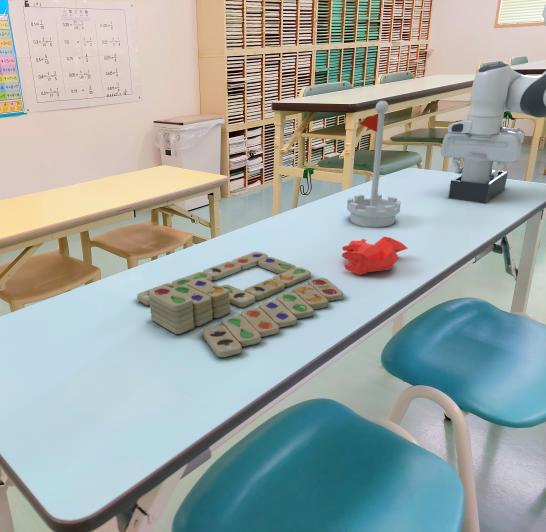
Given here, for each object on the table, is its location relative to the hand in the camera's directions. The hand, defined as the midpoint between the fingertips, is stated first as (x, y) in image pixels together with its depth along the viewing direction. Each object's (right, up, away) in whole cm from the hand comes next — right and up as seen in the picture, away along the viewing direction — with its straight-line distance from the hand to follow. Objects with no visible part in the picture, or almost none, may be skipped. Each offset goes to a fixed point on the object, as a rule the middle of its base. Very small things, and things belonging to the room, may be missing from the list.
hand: (475, 175), depth 150 cm
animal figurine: (-43, -26, -41) cm, 65 cm away
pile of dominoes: (-72, -32, -53) cm, 95 cm away
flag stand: (-35, -14, -14) cm, 40 cm away
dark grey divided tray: (+3, -4, +6) cm, 8 cm away
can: (0, -5, +2) cm, 6 cm away
